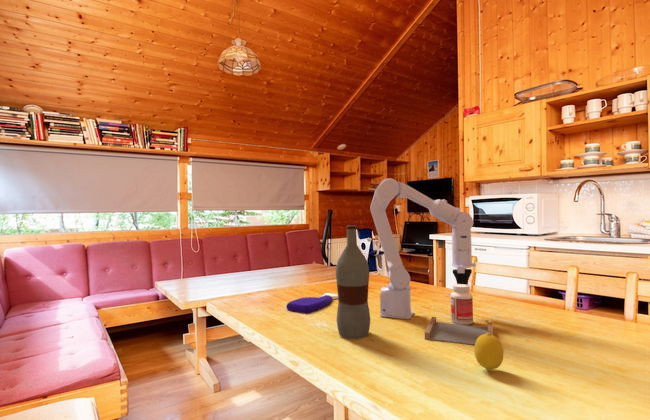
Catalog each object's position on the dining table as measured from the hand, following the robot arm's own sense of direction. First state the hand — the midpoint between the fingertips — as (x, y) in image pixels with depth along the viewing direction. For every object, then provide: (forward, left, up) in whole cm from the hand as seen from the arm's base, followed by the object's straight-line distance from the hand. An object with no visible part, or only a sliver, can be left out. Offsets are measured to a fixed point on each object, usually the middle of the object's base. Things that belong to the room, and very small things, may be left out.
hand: (462, 292), depth 115 cm
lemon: (+7, -40, -8) cm, 41 cm away
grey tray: (0, -18, -7) cm, 20 cm away
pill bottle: (0, -7, -8) cm, 10 cm away
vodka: (-27, -28, -8) cm, 40 cm away
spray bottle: (-51, -2, -8) cm, 51 cm away
